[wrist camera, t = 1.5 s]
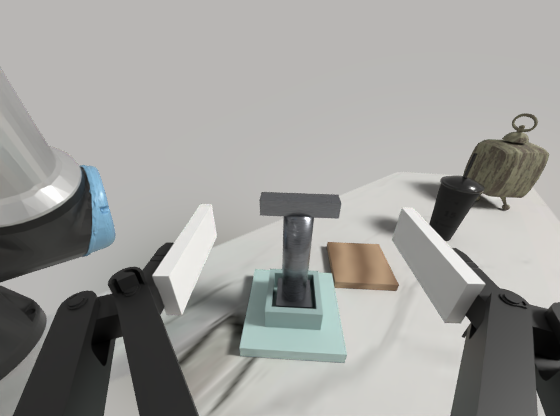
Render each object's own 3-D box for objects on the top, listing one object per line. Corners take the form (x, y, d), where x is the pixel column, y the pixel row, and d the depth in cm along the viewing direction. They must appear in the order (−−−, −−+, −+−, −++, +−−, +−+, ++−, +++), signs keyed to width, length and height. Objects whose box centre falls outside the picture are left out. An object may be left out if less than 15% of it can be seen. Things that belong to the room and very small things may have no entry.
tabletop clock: (516, 213, 64) (576, 119, 52) (482, 212, 65) (533, 118, 52) (481, 190, 77) (522, 110, 64) (453, 189, 77) (488, 109, 64)
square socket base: (240, 356, 31) (237, 332, 28) (255, 277, 43) (254, 255, 40) (344, 362, 31) (351, 339, 28) (330, 280, 43) (334, 258, 40)
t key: (262, 317, 34) (257, 206, 24) (266, 290, 38) (263, 186, 29) (323, 321, 34) (343, 210, 24) (320, 292, 38) (336, 189, 28)
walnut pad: (334, 287, 41) (335, 281, 41) (326, 247, 51) (327, 242, 50) (396, 290, 41) (398, 284, 40) (377, 249, 50) (378, 244, 50)
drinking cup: (418, 223, 60) (448, 146, 49) (452, 229, 57) (491, 150, 47) (423, 240, 53) (458, 157, 43) (461, 248, 51) (508, 162, 41)
